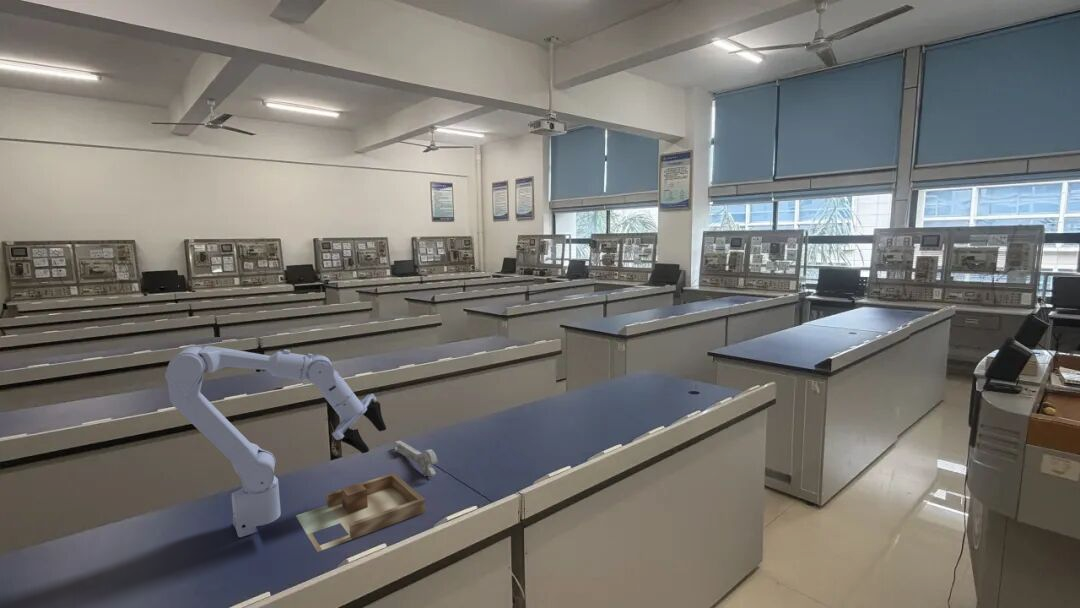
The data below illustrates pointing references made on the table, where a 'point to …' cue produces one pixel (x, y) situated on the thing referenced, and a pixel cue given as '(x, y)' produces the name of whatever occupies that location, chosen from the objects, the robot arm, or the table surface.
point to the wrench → (418, 457)
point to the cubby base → (365, 510)
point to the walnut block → (354, 498)
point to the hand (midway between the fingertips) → (374, 440)
